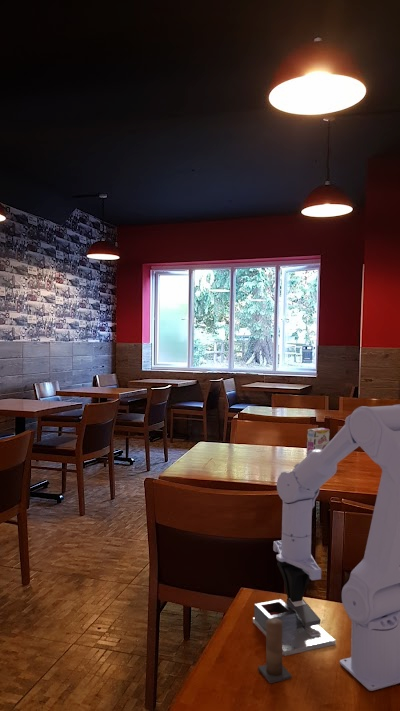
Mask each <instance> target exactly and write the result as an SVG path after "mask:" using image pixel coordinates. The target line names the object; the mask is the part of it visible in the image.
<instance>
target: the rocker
mask: <svg viewBox="0 0 400 711" xmlns="http://www.w3.org/2000/svg"><path fill="white" fill-rule="evenodd" d="M285 603H286V604H287V605H288V606H289V607H290V608H291V609H293V610H294V611H295V612H296V613H297V618H298V619H299V620H300V621H301V623H302V624H303V625H304V626H305V627H310V626H315V625H319V626H320V625H321V618H320V617H319V616H318V615H317V613H316V612H315V611H314V610H313V608H311V606H310V605H309V604H308V603H307V602H306V601H305V599H304V597H303V598H302V601H297V602H292V601H291V599H290V598H289V599H288V598H286V601H285Z"/></svg>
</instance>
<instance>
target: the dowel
mask: <svg viewBox="0 0 400 711" xmlns="http://www.w3.org/2000/svg"><path fill="white" fill-rule="evenodd" d="M265 637H266V638H265V642H266V643H265V644H266V646H265V647H266V649H265V650H266V654H265V655H266V657H265V658H266V664H265V665H266V671H267V673H268V674H270V675H272V676H279V675H281V674H282V665H283V654H282V621H281V620H279V619H277V618H270V619H268V620H267V621H266V636H265Z"/></svg>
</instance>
